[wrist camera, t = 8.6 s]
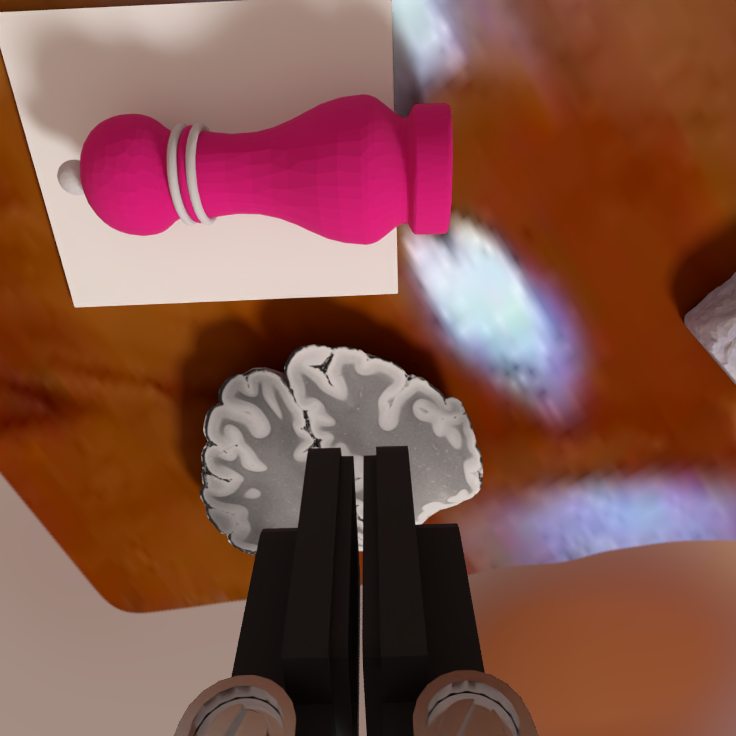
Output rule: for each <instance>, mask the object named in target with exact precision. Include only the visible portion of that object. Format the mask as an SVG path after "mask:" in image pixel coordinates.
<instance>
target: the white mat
mask: <svg viewBox="0 0 736 736" xmlns="http://www.w3.org/2000/svg"><path fill="white" fill-rule="evenodd" d="M0 48H1V51H2V55H3V58H4V62H5V65H6V69H7V72H8V76H9V79H10V83H11V86H12V90H13V93H14V97H15V100H16V104H17V107H18V111H19V114H20V118H21V121H22V125H23V128H24V132H25V135H26V139H27V142H28V146H29V149H30V153H31V156H32V160H33V163H34V167H35V170H36V174H37V177H38V181H39V184H40V188H41V191H42V195H43V198H44V202H45V205H46V209H47V212H48V216H49V219H50V223H51V226H52V230H53V233H54V237H55V240H56V244H57V247H58V251H59V254H60V257H61V261H62V264H63V268H64V271H65V275H66V278H67V282H68V285H69V289H70V292H71V296H72V299H73V303H74V306H75V307H94V306H118V305H141V304H164V303H188V302H211V301H235V300H258V299H281V298H305V297H328V296H352V295H375V294H398V274H397V228H396V227H395V228H394V229H393V230H392V231H391V232H389V233H388V234H387V235H386V236H385V237H383V238H382V239H381V240H379V241H378V242H375V243H373V244H368V245H362V244H350V243H343V242H339V241H335V240H331V239H327V238H325V237H322V236H320V235H318V234H315V233H313V232H311V231H309V230H306V229H304V228H302V227H300V226H298V225H296V224H293V223H290V222H287V221H285V220H282V219H279V218H274V217H270V216H265V215H261V214H234V215H226V216H219V217H217V219H216V221H215V222H214V223H213V224H211V225H204V224H203V223H197V224H195V225H192V226H190V225H187V224H185V223H184V222H183V221H182V220H181V219H179V220H177V221H176V222H175V223H174V224H173V225H172V226H171V227H169V228H168V229H167V230H166V231H164V232H162V233H159V234H156V235H148V236H139V235H130V234H126V233H123V232H120V231H118V230H115V229H113V228H111V227H110V226H108V225H107V224H106V223H104V222H103V221H102V220H101V219H100V218H99V217H98V216H97V215H96V213H95V212H94V211H93V209H92V208H91V206H90V205H89V204H88V201H87V199H86V196H85V194H83V195H73V194H70V193H68V192H66V191H65V190H64V189H63V188H62V187H61V186H60V184H59V182H58V178H57V173H58V169H59V167H60V166H61V164H63V163H64V162H66V161H68V160H80V155H81V151H82V147H83V144H84V142H85V140H86V139H87V137H88V135H89V133H90V131H92V130H93V129H94V128H95V127H96V126H97V125H98V124H99V123H101V122H102V121H104V120H106V119H108V118H110V117H113V116H117V115H123V114H142V115H145V116H149V117H151V118H153V119H155V120H157V121H158V122H160V123H161V124H162V125H163V126H165V127H166V128H167V129H169V130H171V131H172V130H173V128H174V127H175V125H177V124H178V123H184V124H187V125H188V126H189V125H194V124H196V123H203V124H205V125H206V126H207V127H208V128H209V130H210V131H211V132H218V133H228V134H236V133H248V132H257V131H261V130H265V129H269V128H272V127H275V126H277V125H280V124H282V123H284V122H286V121H289V120H291V119H293V118H295V117H297V116H299V115H300V114H302V113H304V112H306V111H308V110H310V109H312V108H314V107H316V106H318V105H319V104H322V103H325V102H328V101H331V100H334V99H337V98H340V97H346V96H353V95H361V94H365V95H371V96H373V97H376V98H377V99H379V100H380V101H381V102H383V103H384V104H385V105H386V106H388V107H389V108H390V109H391V110H392V111H394V88H393V41H392V0H242V1H221V2H201V3H180V4H160V5H139V6H119V7H98V8H78V9H57V10H37V11H16V12H0Z"/></svg>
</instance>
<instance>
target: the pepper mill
mask: <svg viewBox="0 0 736 736" xmlns="http://www.w3.org/2000/svg"><path fill="white" fill-rule="evenodd" d="M452 167H453V139H452V116H451V109H450V106H449V105H448V104H446V103H435V104H415V105H414V106H413V108H412V110H411V112H410V114H409V116H408V117H401V116H399V115H398V114H396V113H395V112H394V111H392V110H391V109H390V108H389V107H388V106H386V105H385V104H384V103H383V102H381V101H380V100H379V99H377V98H376V97H373V96H371V95H365V94H361V95H353V96H346V97H340V98H337V99H334V100H331V101H328V102H325V103H322V104H319V105H318V106H316V107H314V108H312V109H310V110H308V111H306V112H304V113H302V114H300V115H299V116H297V117H295V118H293V119H291V120H289V121H286V122H284V123H282V124H280V125H277V126H275V127H272V128H269V129H265V130H261V131H257V132H248V133H236V134H228V133H218V132H211V131H210V130H209V128H208V127H207V126H206V125H205V124H203V123H196V124H194V125H189V126H188V125H187V124H184V123H178V124H177V125H175V127H174V128H173V130H172V131H171V130H169V129H167V128H166V127H165V126H163V125H162V124H161V123H160V122H158V121H157V120H155V119H153V118H151V117H149V116H145V115H142V114H123V115H117V116H113V117H110V118H108V119H106V120H104V121H102V122H101V123H99V124H98V125H97V126H96V127H95V128H94V129H93V130H92V131H90V133H89V135H88V137H87V139H86V140H85V142H84V144H83V147H82V151H81V155H80V160H68V161H66V162H64V163H63V164H61V166H60V167H59V169H58V173H57V178H58V182H59V184H60V186H61V187H62V188H63V189H64V190H65V191H66V192H68V193H70V194H73V195H83V194H85V196H86V199H87V201H88V204H89V205H90V206H91V208H92V209H93V211H94V212H95V213H96V215H97V216H98V217H99V218H100V219H101V220H102V221H103V222H104V223H106V224H107V225H108V226H110V227H111V228H113V229H115V230H118V231H120V232H123V233H126V234H130V235H139V236H148V235H156V234H159V233H162V232H164V231H166V230H167V229H168V228H169V227H171V226H172V225H173V224H174V223H175V222H176V221H177V220H179V219H181V220H182V221H183V222H184V223H185V224H187V225H190V226H192V225H195V224H197V223H203V224H204V225H211V224H213V223H214V222H215V221H216V219H217V217H219V216H226V215H234V214H261V215H265V216H270V217H274V218H279V219H282V220H285V221H287V222H290V223H293V224H296V225H298V226H300V227H302V228H304V229H306V230H309V231H311V232H313V233H315V234H318V235H320V236H322V237H325V238H327V239H331V240H335V241H339V242H343V243H350V244H362V245H368V244H373V243H375V242H378V241H379V240H381V239H382V238H383V237H385V236H386V235H387V234H388V233H389V232H391V231H392V230H393V229H394V228H395V227H397V226H398V225H400V224H403V223H408V224H409V226H410V228H411V230H412V232H413V233H414V234H444V233H446V232H447V231H448V228H449V223H450V215H451V199H452Z"/></svg>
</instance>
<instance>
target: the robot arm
mask: <svg viewBox="0 0 736 736" xmlns="http://www.w3.org/2000/svg"><path fill="white" fill-rule="evenodd" d="M362 632H363V633H362V635H363V636H362V639H363V675H364V692H365V708H366V709H365V710H366V728H367V736H539V735H538V732H537V729H536V727H535V724H534V722H533V719H532V717H531V714H530V712H529V711H528V709H527V707H526V705H525V703H524V702H523V700H522V698H521V697H520V696H519V695H518V694H517V693H516V692H515V691H514V690H513V689H512V688H511V687H510V686H509V685H508V684H507V683H505V682H503V681H502V680H500V679H498V678H496V677H495V676H493V675H491V674H487V673H485V672H484V667H483V661H482V656H481V650H480V644H479V639H478V633H477V627H476V621H475V616H474V610H473V605H472V599H471V593H470V588H469V582H468V576H467V570H466V565H465V559H464V553H463V548H462V542H461V536H460V532H459V527H458V525H457V524H419V525H415V514H414V504H413V493H412V483H411V472H410V461H409V451H408V446H378V447H376V455H364V457H363V630H362ZM359 649H360V565H359V547H358V528H357V510H356V491H355V472H354V457H353V456H342V454H341V448H309V449H308V453H307V460H306V468H305V475H304V483H303V491H302V498H301V506H300V514H299V522H298V528H266V529H262V531H261V533H260V537H259V541H258V546H257V551H256V556H255V561H254V566H253V572H252V577H251V582H250V587H249V592H248V597H247V602H246V607H245V612H244V617H243V622H242V627H241V632H240V637H239V642H238V647H237V652H236V657H235V662H234V668H233V673H232V677H231V678H227V679H224V680H221V681H219V682H217V683H215V684H214V685H212V686H210V687H209V688H207V689H205V690H204V691H203V692H202V693H201V694H200V695H199V696H198V697H197V698H196V699H195V700H194V701H193V702H192V703H191V704H190V705H189V706H188V708H187V710H186V712H185V713H184V715H183V717H182V719H181V720H180V722H179V724H178V727H177V729H176V732H175V734H174V736H359V657H360V656H359V655H360V650H359Z"/></svg>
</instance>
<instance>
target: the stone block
mask: <svg viewBox="0 0 736 736" xmlns="http://www.w3.org/2000/svg"><path fill="white" fill-rule="evenodd" d="M684 323H685V326H686V327H687V328H688V329H689V330H690V331H691V333H692V334H693V335H694V336H695V338H696V339H697V340H698V341H699V342H700V343H701V345H702V346H703V347H704V348H705V349H706V350H707V351H708V353H709V354H710V355H711V356H712V358H713V359H714V360H715V361H716V362H717V363H718V365H719V366H720V367H721V368H722V369H723V370H724V372H725V373H726V374H727V375H728V376H729V377H730V379H731V380H732V381H733V382H734V383H735V385H736V271H735V273H734V274H733V276H732V277H731V278H730V279H729V280H728V281H726V282H725V283H724V284H722V285H721V286H719V287H717V288H716V289H715V290H713V291H711V292H710V293H709V294H708V295H707V296H706V297H705V298H704V299H703V300H702V301H701V302H700V303H699V304H698V305H697V306H695V307H694V308H693V309H691V310H690V311H689V312H687V314H686V315H685V317H684Z"/></svg>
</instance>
